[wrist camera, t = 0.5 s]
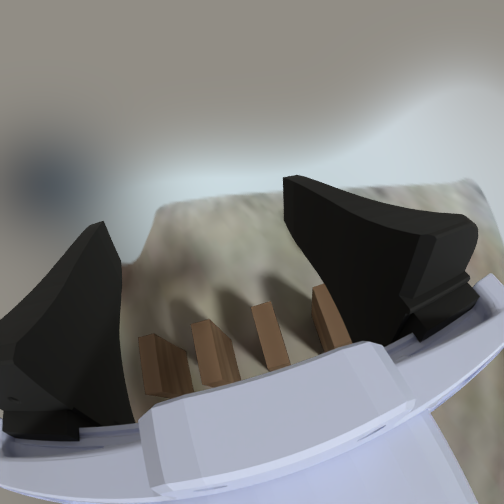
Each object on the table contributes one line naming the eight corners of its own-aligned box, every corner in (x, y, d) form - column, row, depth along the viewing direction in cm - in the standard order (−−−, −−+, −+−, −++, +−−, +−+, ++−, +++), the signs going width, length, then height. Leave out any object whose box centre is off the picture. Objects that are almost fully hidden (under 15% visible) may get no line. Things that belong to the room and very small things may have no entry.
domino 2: (231, 339, 28) (209, 318, 22) (242, 386, 25) (222, 380, 19) (216, 343, 28) (190, 324, 22) (227, 390, 25) (202, 384, 19)
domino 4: (326, 310, 27) (331, 280, 22) (342, 355, 25) (354, 339, 19) (311, 315, 27) (312, 287, 22) (327, 361, 25) (334, 346, 19)
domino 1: (185, 351, 28) (153, 333, 22) (194, 396, 25) (162, 391, 19) (172, 354, 28) (138, 337, 22) (180, 399, 25) (145, 394, 19)
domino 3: (278, 325, 28) (270, 301, 22) (293, 372, 25) (289, 362, 19) (263, 330, 28) (250, 307, 22) (277, 377, 25) (267, 368, 19)
